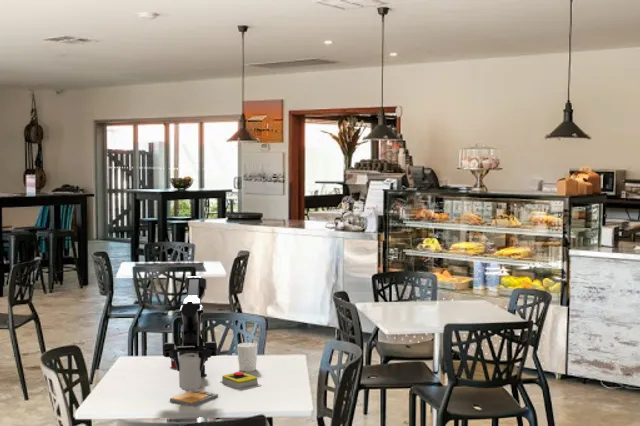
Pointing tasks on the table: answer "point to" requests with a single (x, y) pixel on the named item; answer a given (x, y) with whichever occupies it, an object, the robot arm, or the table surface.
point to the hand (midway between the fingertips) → (189, 370)
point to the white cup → (247, 356)
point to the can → (189, 372)
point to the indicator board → (194, 397)
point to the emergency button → (240, 380)
